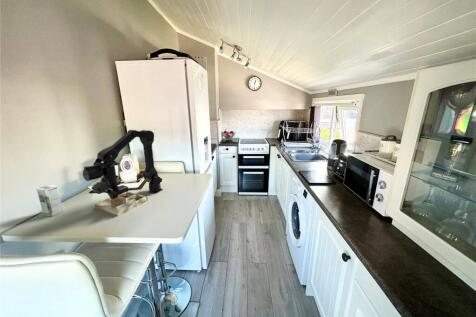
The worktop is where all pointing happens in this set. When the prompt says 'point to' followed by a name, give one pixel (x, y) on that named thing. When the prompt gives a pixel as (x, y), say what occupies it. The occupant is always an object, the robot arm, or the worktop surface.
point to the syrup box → (50, 200)
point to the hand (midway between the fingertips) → (114, 202)
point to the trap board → (131, 202)
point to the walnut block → (117, 202)
